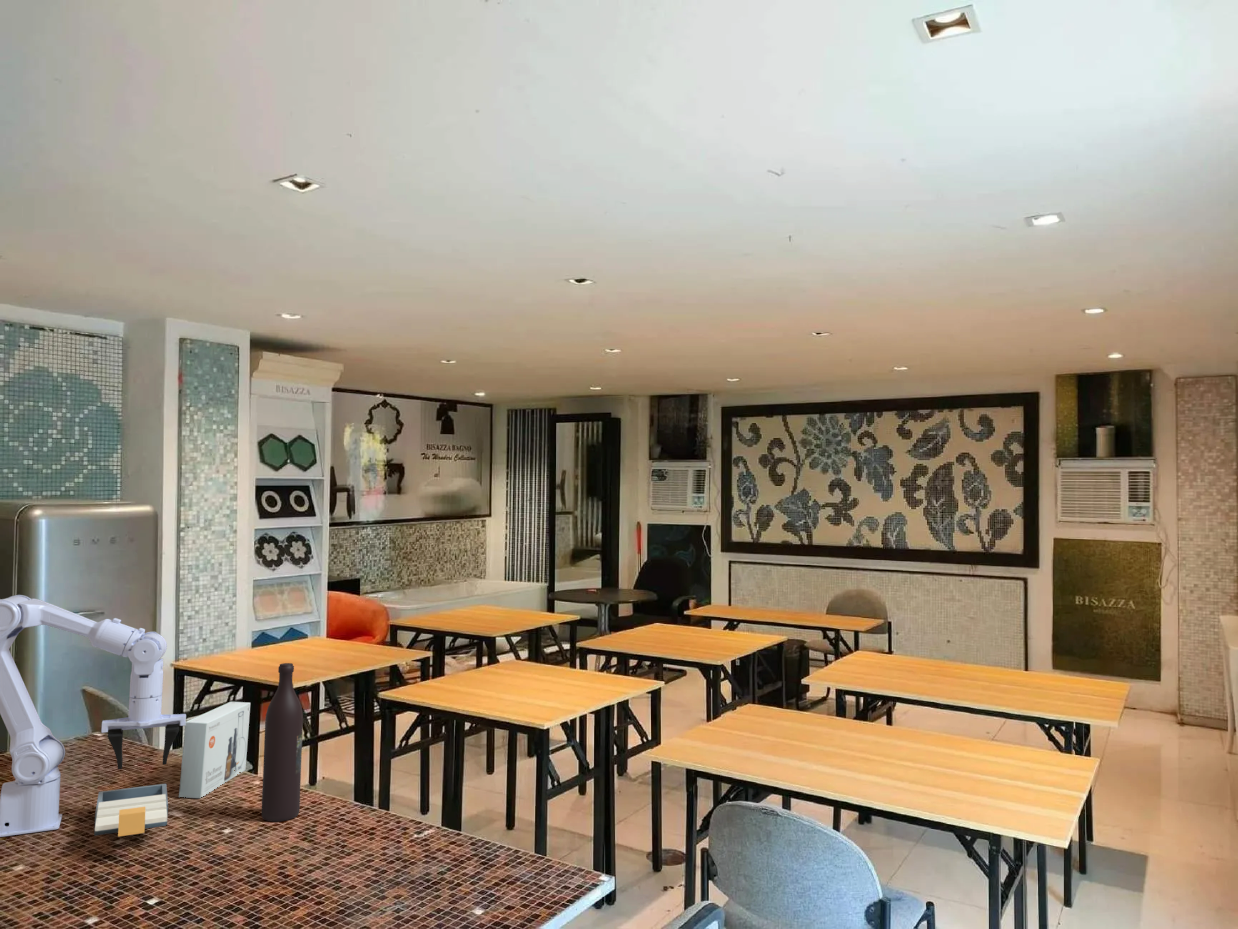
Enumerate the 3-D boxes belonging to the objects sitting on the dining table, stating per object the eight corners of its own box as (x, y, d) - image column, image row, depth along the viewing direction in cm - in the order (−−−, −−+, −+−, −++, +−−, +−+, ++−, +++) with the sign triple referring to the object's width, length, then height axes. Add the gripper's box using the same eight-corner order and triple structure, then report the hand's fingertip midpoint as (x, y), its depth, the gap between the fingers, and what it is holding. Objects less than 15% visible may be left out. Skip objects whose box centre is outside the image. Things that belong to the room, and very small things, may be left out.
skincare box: (203, 799, 181) (206, 722, 182) (177, 798, 182) (181, 722, 182) (248, 769, 202) (251, 701, 203) (225, 769, 203) (228, 700, 203)
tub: (94, 835, 160) (95, 813, 161) (97, 812, 173) (98, 791, 173) (167, 825, 166) (167, 804, 166) (165, 803, 178) (166, 783, 179)
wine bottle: (299, 820, 170) (305, 666, 172) (261, 824, 168) (267, 668, 169) (298, 808, 177) (304, 660, 179) (261, 812, 174) (267, 662, 176)
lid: (93, 840, 147) (94, 818, 148) (98, 806, 164) (99, 787, 164) (167, 829, 153) (168, 808, 153) (165, 798, 169) (166, 779, 169)
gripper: (102, 702, 164) (98, 775, 163) (187, 696, 171) (184, 766, 170) (104, 695, 170) (100, 765, 170) (186, 689, 177) (183, 757, 176)
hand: (142, 765), depth 170 cm, fingers open, 7 cm apart
